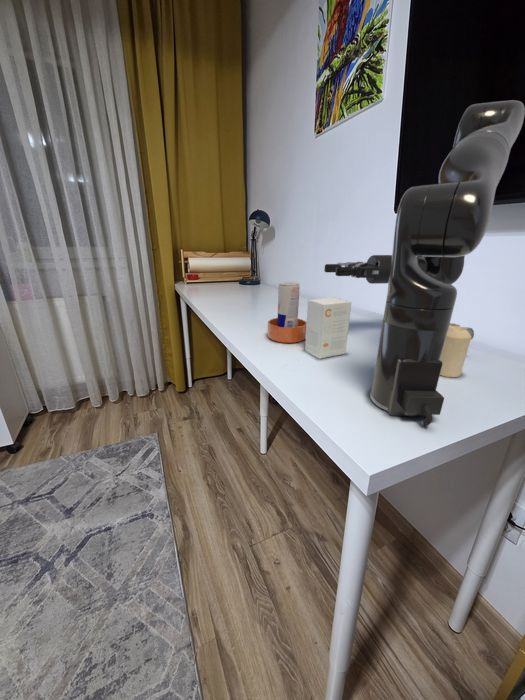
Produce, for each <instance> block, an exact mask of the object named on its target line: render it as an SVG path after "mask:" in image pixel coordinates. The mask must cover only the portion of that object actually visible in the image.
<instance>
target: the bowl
mask: <svg viewBox="0 0 525 700" xmlns="http://www.w3.org/2000/svg"><path fill="white" fill-rule="evenodd" d="M277 323H278V317H274V318H271V319H269V320H268V321H267V338H268V339H270V340H272V341H273V342H277V343H281V344H282V343H283V344H295V343H299V342H302V341H304V340H306V327H307V320H304V319H302V318H298V324H297V327H292V328H289V327H278V326H277Z"/></svg>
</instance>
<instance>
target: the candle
mask: <svg viewBox="0 0 525 700" xmlns="http://www.w3.org/2000/svg"><path fill="white" fill-rule="evenodd" d="M471 341H472V339H471V335H470V334H469V332H468V331H467V330H466V327H465V326H461V325H460V326H452V325H449V328H448V332H447V336H446V340H445V344H444V348H443V352H442V356H441V360H440V361H442V368H441V372H440V376H443V377H447V378H458V377H460V376H461V374H462V372H463V367H464V365H465V361H466V357H467V354H468V350H469V347H470V343H471Z"/></svg>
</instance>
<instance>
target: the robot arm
mask: <svg viewBox="0 0 525 700" xmlns="http://www.w3.org/2000/svg"><path fill="white" fill-rule="evenodd" d="M524 119H525V105H524V103H523V102H522V101H520V100H514V99H511V100H499V101H490V102H482V103H474V104H471V105H469V106H468V107H467V108H466V109H465V110H464V112H463V114H462V116H461V117H460V121H459V123H458V126H457V130H456V133H455V136H454V141H453V145H452V149H451V150H450V151H449V153H448V155H447V156H446V158H445V159H444V161H443V163H442V164H441V167H440V169H439V173H438V183H432V184H431V183H430V184H421V185H420V184H419V185H414V186H411V187H409V188H408V189H406V191H405V192H404V193H403V195H402V197H401V198H400V202H399V205H398V207H397V213H396V218H395V226H394V233H393V235H394V236H393V241H392V242H393V244H392V252H391V254H373V255H370V256H369V257H368V259H367V261H365V262H364V261H347V262H337V263H325V264H324V269H323V270H324V272H325V273H335V276H336V277H351V278H355V279H356V278H357V279H365V280H366V282H368V284H373V285H374V284H375V285H376V284H387V293H386V299H385V304H384V310H383V311H384V312H383V318H382V323H381V330H380V336H379V341H378V342H379V343H378V347H377V352H376V359H375V366H374V371H373V379H372V383H371V389H370V393H369V397H370V401H371V402H372V403H373V404H374V405H375V406H377V407H378V408H380V409H382V410H384V411H386V412H387V413H388V415H390V416H396V417H397V416H399V417H401V416H402V417H425V419H424V420H423V422H422V423H423V425H424V426H425V427H429V425H431V424H432V422H433V415H435V416H440V415H441V413H442V409H443V405H444V401H445V397H444V396H443V395H442V394H441V393H440V392H439V391H438V390H437V389H438V384H439V379H440V376H441V375H440V372H441V368H442V361H440V360H441V356H442V352H443V348H444V344H445V340H446V336H447V332H448V328H449V325H450V323H451V320H452V316H453V312H454V308H455V305H456V301H457V298H458V297H457V296H458V289H457V287H456V286H454V285H453V284H455V283H456V282H457V281H458V280H459V279H460V277H461V275H462V274H463V271H464V267H465V259H466V257H465V256H468V255H469V254H471V253H472V252H474V251H475V250H476V249H477V248H478V246H480V244H481V242H482V240H483V239H484V237H485V234H486V232H487V230H488V227H489V224H490V221H491V218H492V211H493V207H494V202H495V197H496V196H495V195H496V191H497V187H498V185H499V183H500V181H501V179H502V177H503V174H504V172H505V170H506V167H507V165H508V162H509V157H510V153H511V149H512V147H513V145H514V143H515V142H516V140H517V138H518V136H519V134H520V132H521V130H522V128H523V124H524Z"/></svg>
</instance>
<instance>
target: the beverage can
mask: <svg viewBox="0 0 525 700" xmlns="http://www.w3.org/2000/svg"><path fill="white" fill-rule="evenodd" d="M277 298H278V299H277V318H278V323H277V326H278V327H289V328H292V327H297V324H298V319H299V305H300V303H299V301H300V282H298V281H279V282H278V294H277Z"/></svg>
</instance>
